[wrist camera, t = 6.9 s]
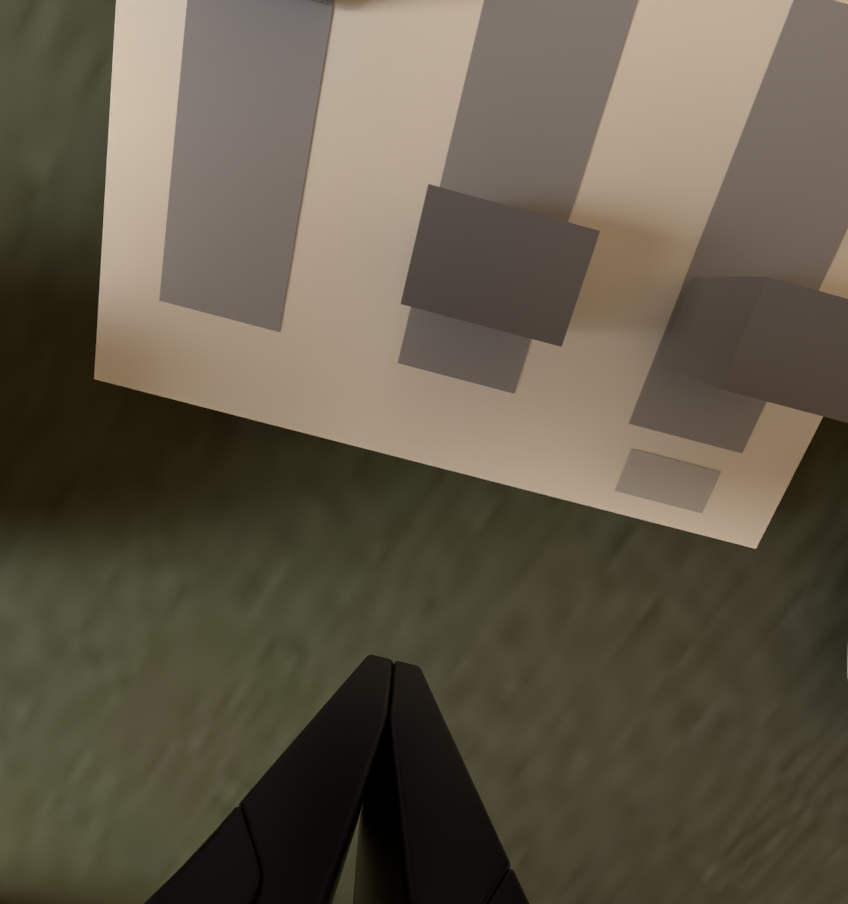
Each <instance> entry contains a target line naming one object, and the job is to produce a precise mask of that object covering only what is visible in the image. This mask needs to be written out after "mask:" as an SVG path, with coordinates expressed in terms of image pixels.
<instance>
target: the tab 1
mask: <svg viewBox="0 0 848 904" xmlns="http://www.w3.org/2000/svg"><path fill="white" fill-rule="evenodd" d="M599 233H600V231H598V230H595V229H591V228H588V227H584V226H580V225H577V224H573V223H569V222H566V221H562V220H558V219H555V218H551V217H547V216H544V215H540V214H536V213H533V212H529V211H525V210H522V209H518V208H514V207H511V206H507V205H504V204H500V203H496V202H493V201H489V200H485V199H482V198H478V197H474V196H471V195H467V194H463V193H460V192H456V191H452V190H449V189H445V188H441V187H438V186H434V185H431V184H428V188H427V192H426V196H425V201H424V205H423V209H422V213H421V218H420V222H419V226H418V231H417V235H416V239H415V244H414V248H413V252H412V257H411V261H410V265H409V270H408V274H407V278H406V282H405V287H404V291H403V295H402V300H401V304H402V305H406V306H410V307H413V308H417V309H421V310H425V311H428V312H432V313H436V314H440V315H443V316H447V317H451V318H455V319H459V320H462V321H466V322H470V323H474V324H477V325H481V326H485V327H489V328H492V329H496V330H500V331H504V332H507V333H511V334H515V335H519V336H522V337H526V338H530V339H534V340H537V341H541V342H545V343H549V344H552V345H556V346H560V347H562V344H563V341H564V338H565V335H566V332H567V329H568V326H569V323H570V320H571V317H572V314H573V311H574V308H575V305H576V302H577V299H578V296H579V293H580V290H581V287H582V284H583V281H584V278H585V275H586V272H587V269H588V266H589V263H590V260H591V257H592V254H593V251H594V248H595V245H596V242H597V239H598V236H599Z"/></svg>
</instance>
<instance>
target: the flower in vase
mask: <svg viewBox="0 0 848 904" xmlns="http://www.w3.org/2000/svg"><path fill="white" fill-rule="evenodd" d="M847 674H848V643H847Z"/></svg>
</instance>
